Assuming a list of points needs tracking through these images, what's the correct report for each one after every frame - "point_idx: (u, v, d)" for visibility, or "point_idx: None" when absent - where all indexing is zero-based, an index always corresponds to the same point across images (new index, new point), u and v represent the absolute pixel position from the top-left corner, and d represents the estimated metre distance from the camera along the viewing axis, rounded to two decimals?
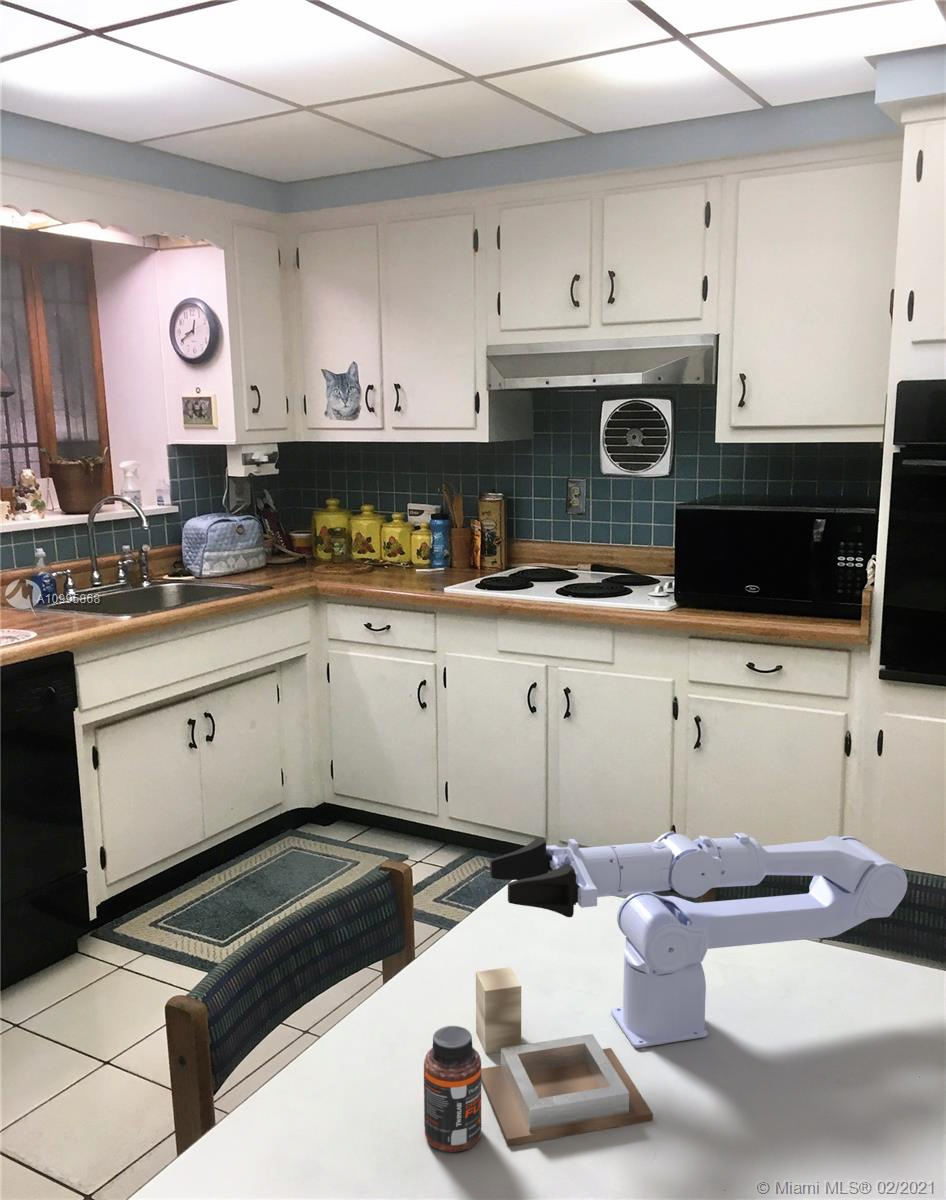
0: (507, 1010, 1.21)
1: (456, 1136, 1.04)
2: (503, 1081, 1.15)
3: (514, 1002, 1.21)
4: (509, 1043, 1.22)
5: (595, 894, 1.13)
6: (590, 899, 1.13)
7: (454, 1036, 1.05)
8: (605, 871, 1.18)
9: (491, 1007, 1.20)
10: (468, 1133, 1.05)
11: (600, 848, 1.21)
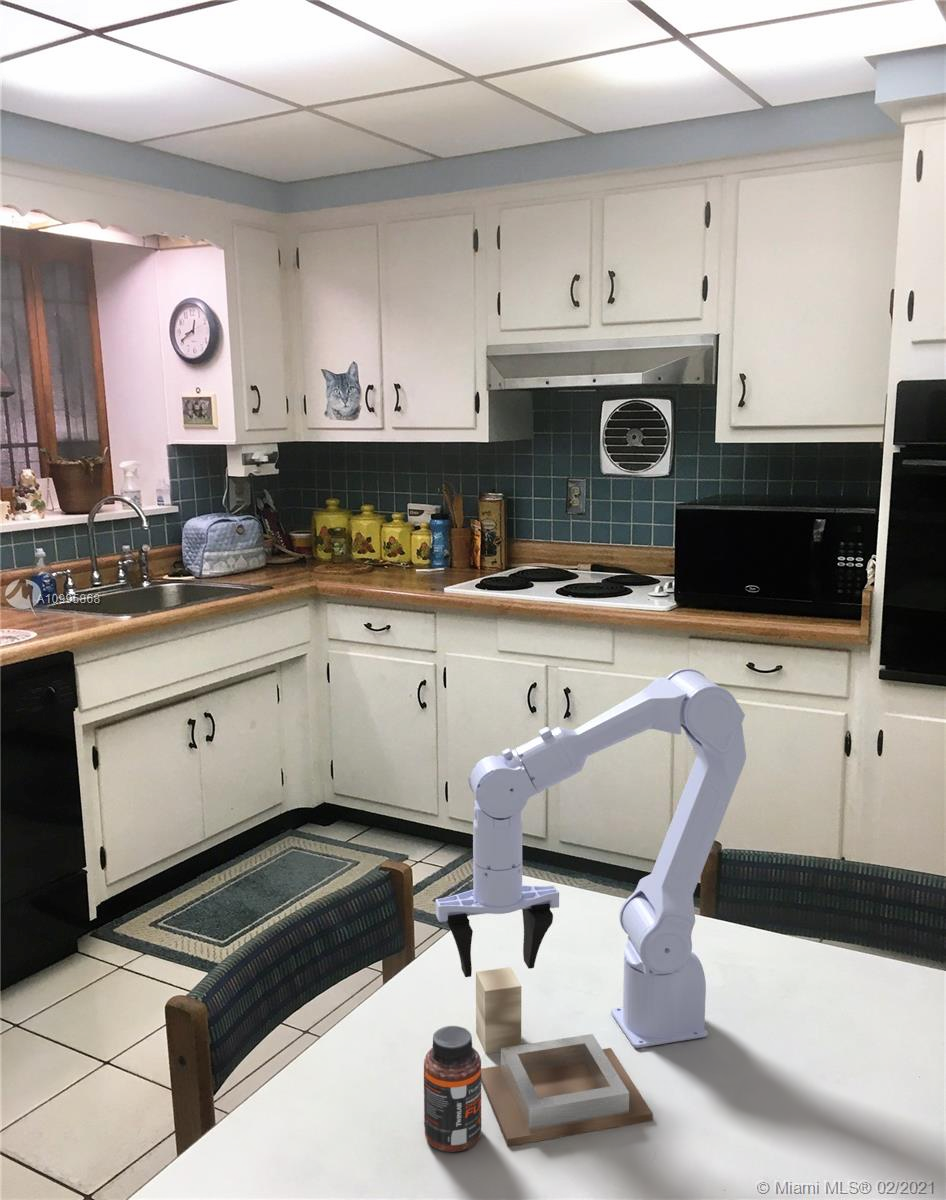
0: (508, 1010, 1.21)
1: (456, 1136, 1.04)
2: (503, 1081, 1.15)
3: (514, 1002, 1.21)
4: (509, 1043, 1.22)
5: (436, 903, 1.19)
6: (437, 909, 1.19)
7: (454, 1036, 1.05)
8: None
9: (491, 1007, 1.20)
10: (468, 1133, 1.05)
11: None
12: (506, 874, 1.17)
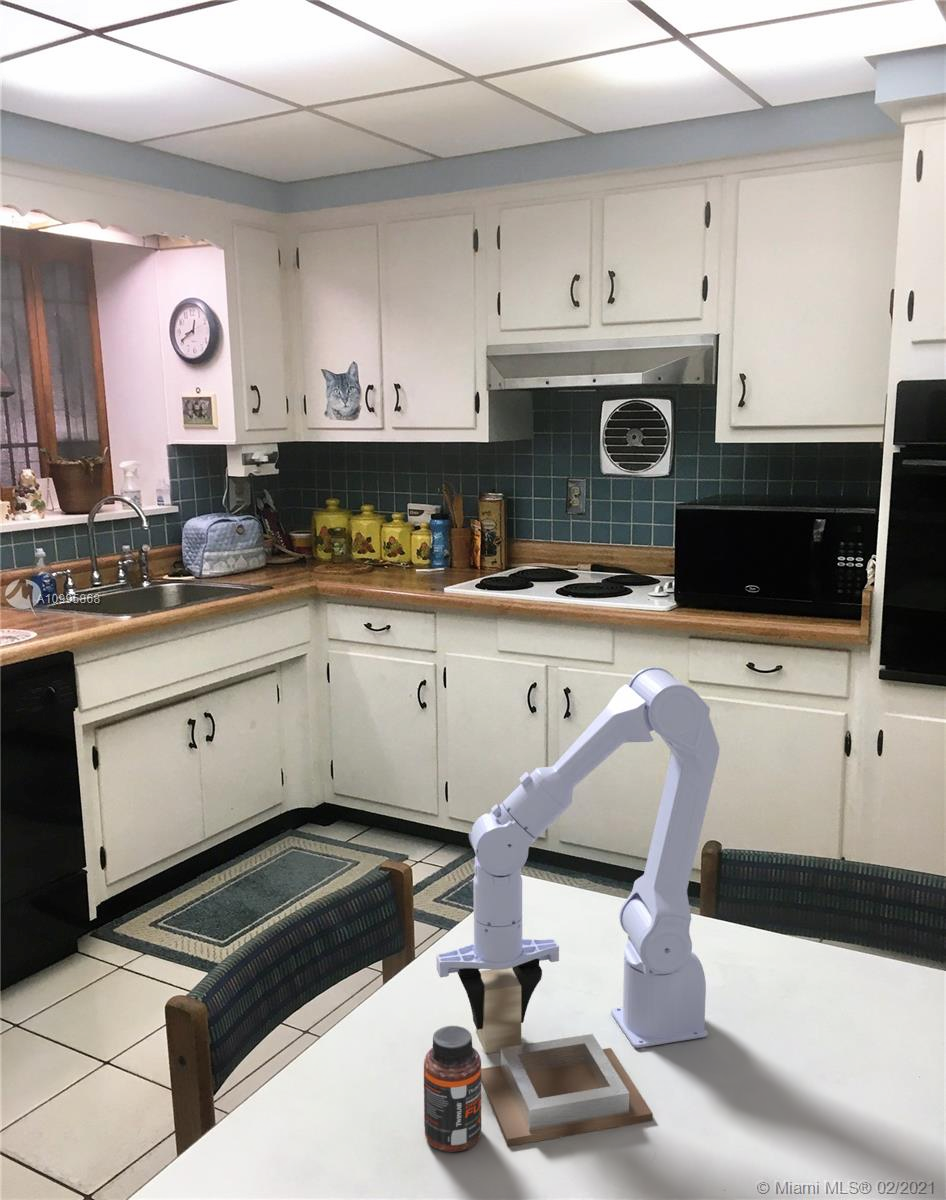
0: (507, 1009, 1.21)
1: (456, 1136, 1.04)
2: (503, 1081, 1.15)
3: (514, 1001, 1.21)
4: (509, 1043, 1.22)
5: (437, 958, 1.21)
6: (438, 965, 1.20)
7: (454, 1036, 1.05)
8: None
9: (491, 1007, 1.20)
10: (468, 1133, 1.05)
11: None
12: (506, 930, 1.19)
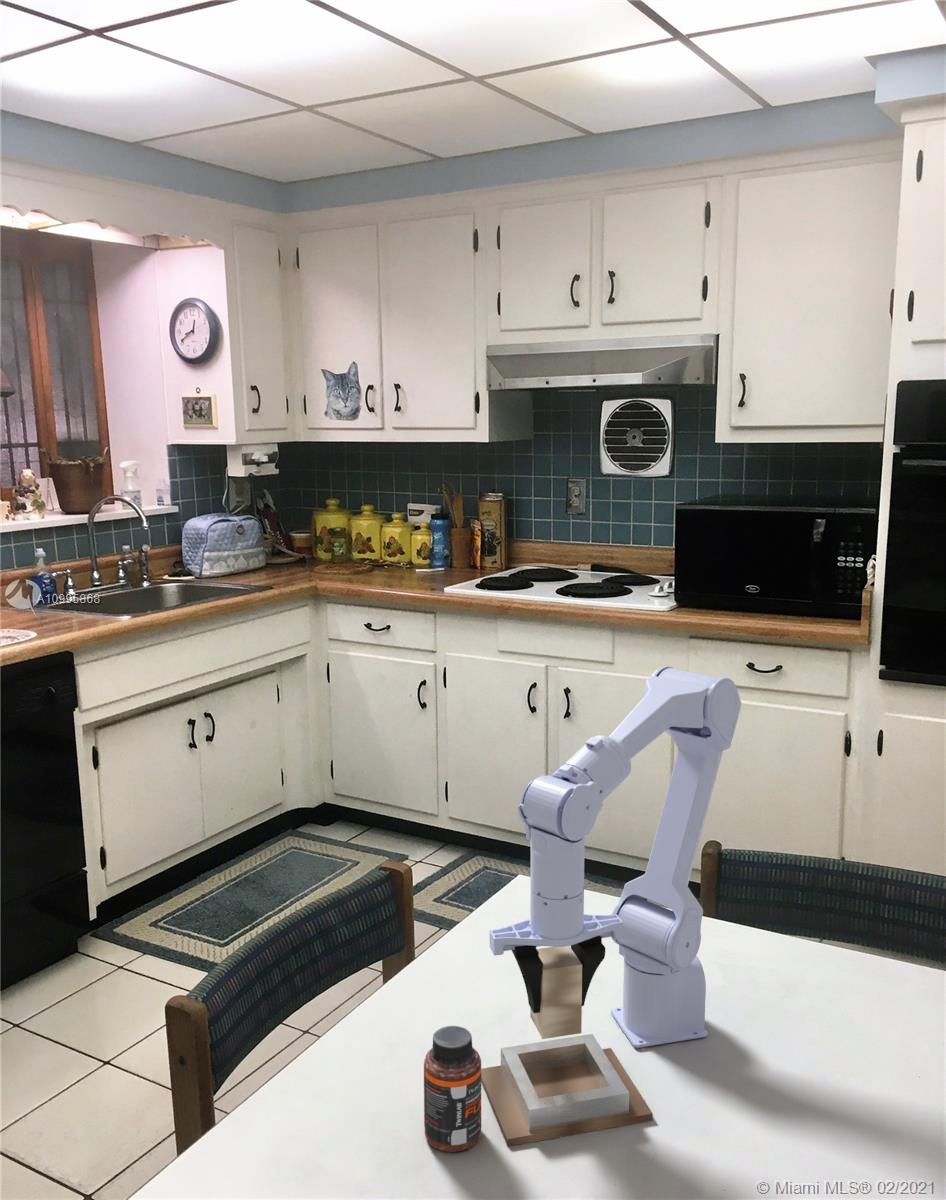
0: (567, 991, 1.10)
1: (456, 1136, 1.04)
2: (503, 1081, 1.15)
3: (574, 982, 1.10)
4: (568, 1027, 1.11)
5: (490, 934, 1.10)
6: (492, 942, 1.09)
7: (454, 1036, 1.05)
8: (530, 901, 1.11)
9: (549, 988, 1.10)
10: (468, 1133, 1.05)
11: None
12: (568, 904, 1.08)
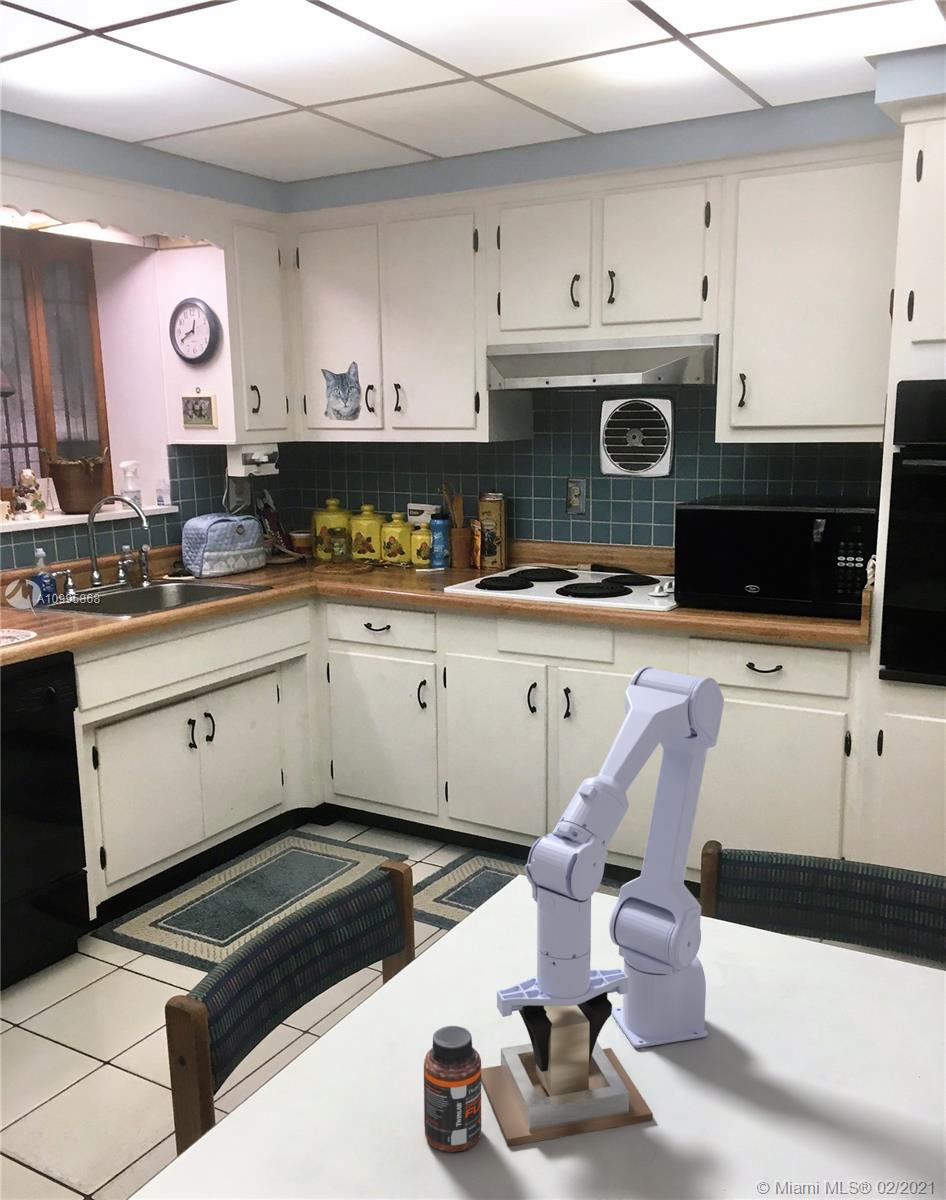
0: (575, 1049, 1.10)
1: (456, 1136, 1.04)
2: (503, 1081, 1.15)
3: (581, 1039, 1.11)
4: (576, 1085, 1.11)
5: (498, 995, 1.09)
6: (500, 1003, 1.09)
7: (454, 1036, 1.05)
8: (537, 960, 1.11)
9: (558, 1047, 1.10)
10: (468, 1133, 1.05)
11: None
12: (576, 963, 1.08)
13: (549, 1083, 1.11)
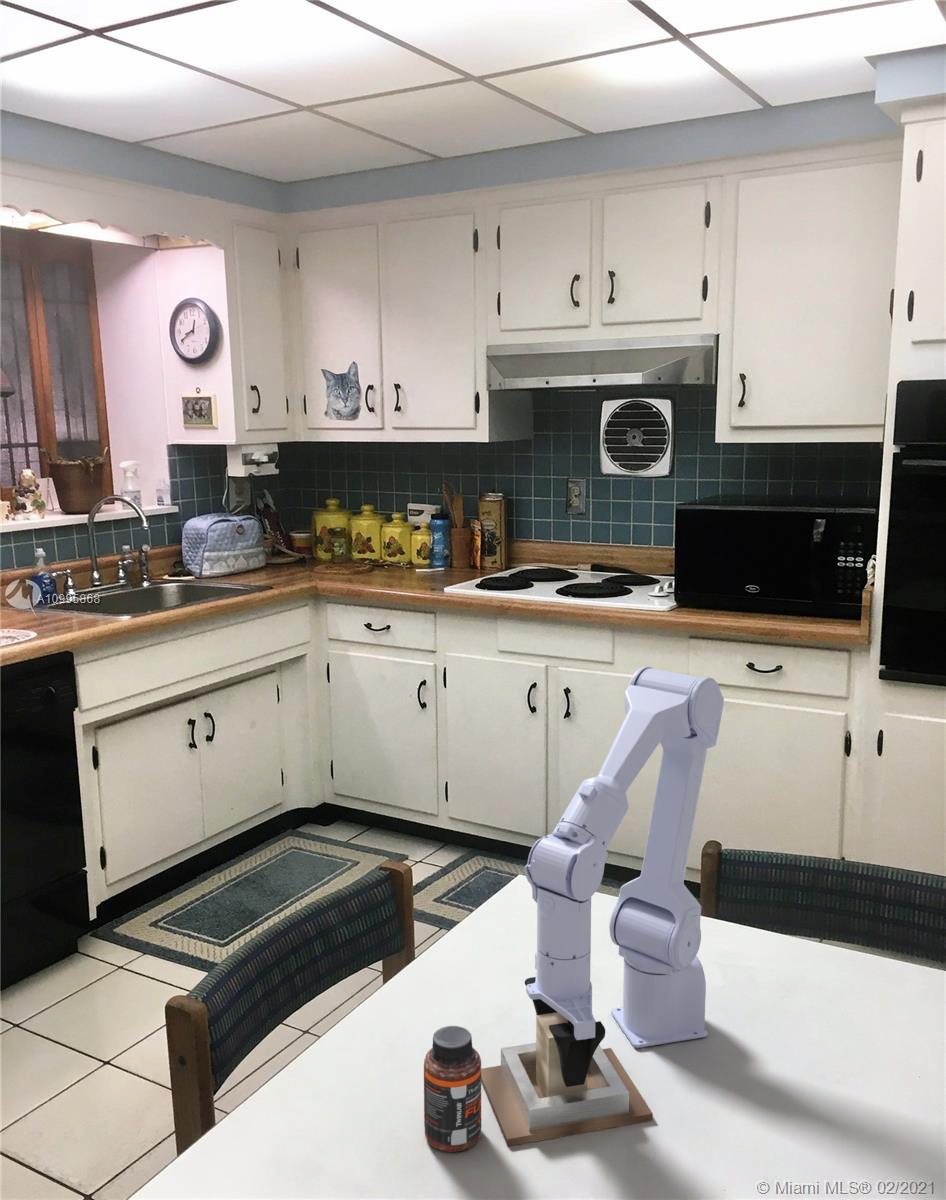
0: None
1: (456, 1136, 1.04)
2: (503, 1081, 1.15)
3: None
4: None
5: (582, 1024, 1.04)
6: (587, 1029, 1.04)
7: (454, 1036, 1.05)
8: (562, 975, 1.08)
9: None
10: (468, 1133, 1.05)
11: (538, 962, 1.10)
12: None
13: (583, 1088, 1.11)
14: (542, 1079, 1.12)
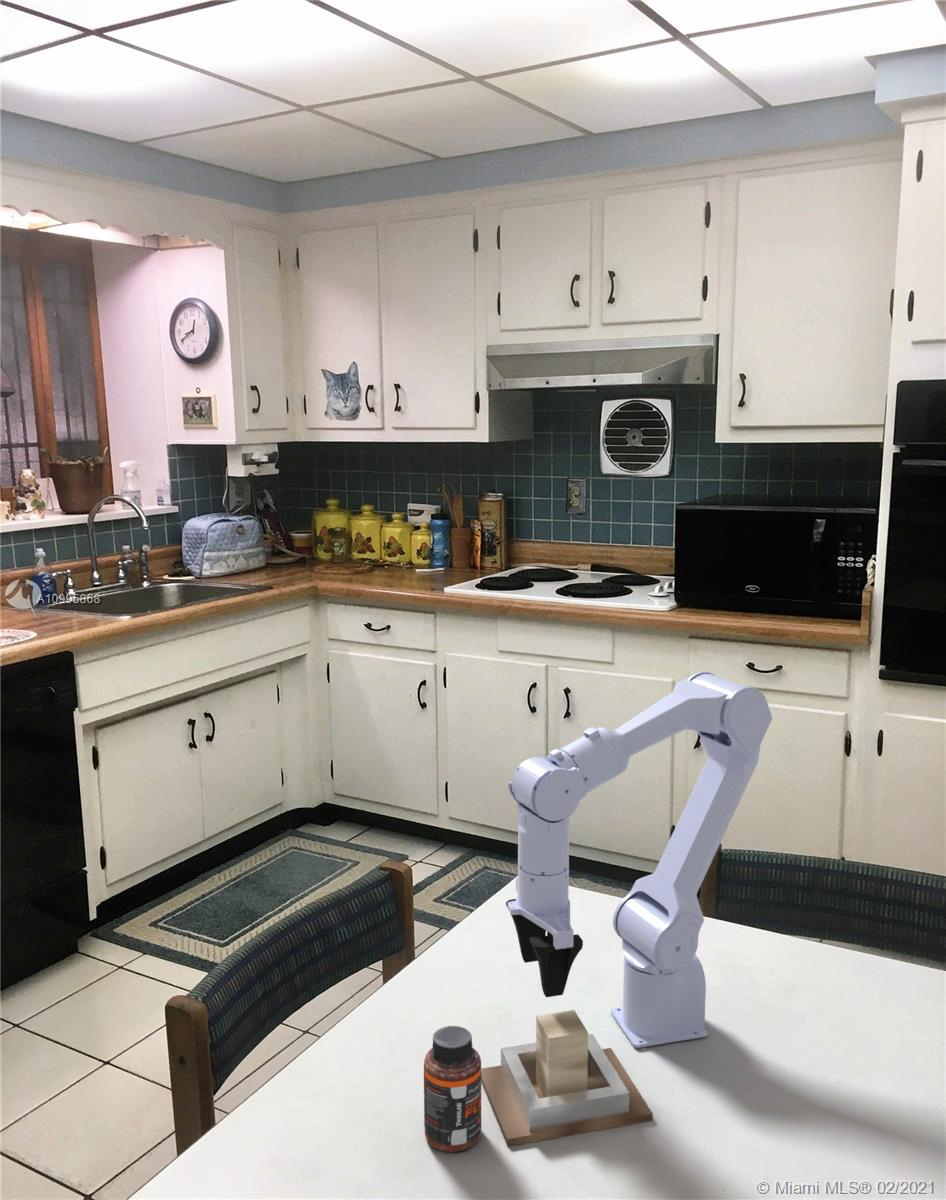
0: None
1: (456, 1136, 1.04)
2: (503, 1081, 1.15)
3: None
4: None
5: (561, 934, 1.10)
6: (566, 938, 1.10)
7: (454, 1036, 1.05)
8: (542, 890, 1.14)
9: None
10: (468, 1133, 1.05)
11: (519, 879, 1.15)
12: None
13: (583, 1088, 1.11)
14: (542, 1079, 1.12)
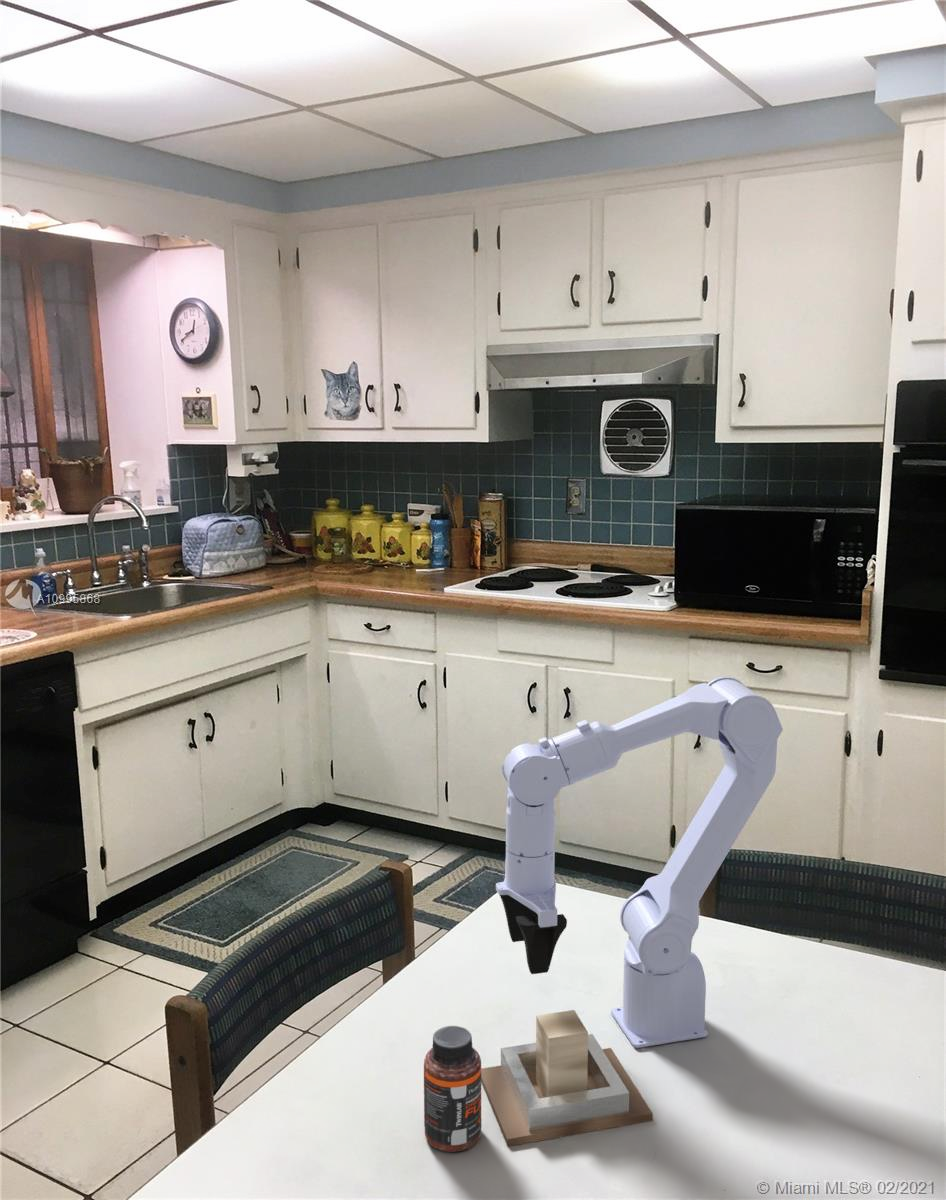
0: None
1: (456, 1136, 1.04)
2: (503, 1081, 1.15)
3: None
4: None
5: (545, 913, 1.15)
6: (550, 917, 1.15)
7: (454, 1036, 1.05)
8: (528, 871, 1.18)
9: None
10: (468, 1133, 1.05)
11: (507, 861, 1.20)
12: None
13: (583, 1088, 1.11)
14: (542, 1079, 1.12)
